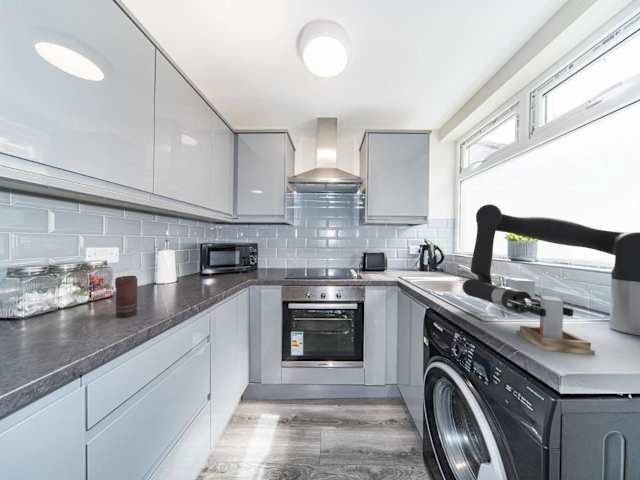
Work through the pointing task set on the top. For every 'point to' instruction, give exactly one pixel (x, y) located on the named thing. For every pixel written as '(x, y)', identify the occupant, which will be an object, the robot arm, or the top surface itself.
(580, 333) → the top surface
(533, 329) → the wooden tray
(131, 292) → the can
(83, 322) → the top surface
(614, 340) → the top surface
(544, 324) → the skincare box
